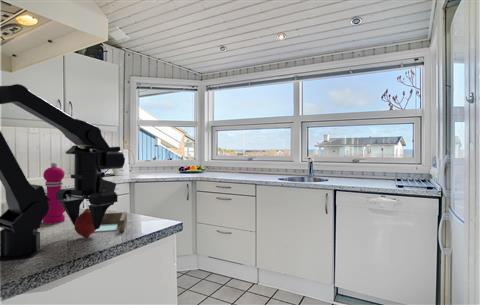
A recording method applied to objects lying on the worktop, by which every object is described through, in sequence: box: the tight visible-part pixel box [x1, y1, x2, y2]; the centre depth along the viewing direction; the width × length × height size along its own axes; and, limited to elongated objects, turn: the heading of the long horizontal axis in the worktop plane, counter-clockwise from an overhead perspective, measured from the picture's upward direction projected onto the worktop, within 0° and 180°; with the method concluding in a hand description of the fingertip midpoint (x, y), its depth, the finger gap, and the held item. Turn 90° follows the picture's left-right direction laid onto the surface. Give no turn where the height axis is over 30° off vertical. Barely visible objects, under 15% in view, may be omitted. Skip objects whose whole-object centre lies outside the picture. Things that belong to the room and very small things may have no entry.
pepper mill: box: [42, 162, 66, 225], centre depth 96 cm, size 7×7×20 cm
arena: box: [101, 211, 128, 233], centre depth 88 cm, size 11×12×4 cm
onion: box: [73, 208, 96, 239], centre depth 79 cm, size 6×6×8 cm
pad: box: [93, 223, 119, 233], centre depth 88 cm, size 8×8×1 cm
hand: (86, 226), depth 79 cm, fingers open, 9 cm apart
